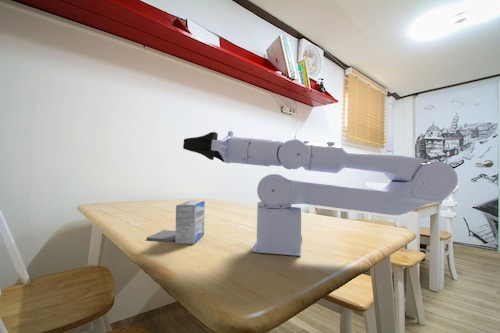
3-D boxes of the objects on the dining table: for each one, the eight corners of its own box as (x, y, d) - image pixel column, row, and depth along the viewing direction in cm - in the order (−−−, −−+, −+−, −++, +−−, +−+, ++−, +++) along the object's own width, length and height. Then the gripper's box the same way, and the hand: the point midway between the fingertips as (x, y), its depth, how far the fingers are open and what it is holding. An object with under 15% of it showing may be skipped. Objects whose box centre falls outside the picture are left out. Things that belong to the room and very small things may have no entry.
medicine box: (194, 245, 49) (195, 204, 49) (174, 244, 49) (175, 204, 49) (204, 235, 57) (205, 200, 57) (187, 234, 57) (188, 200, 57)
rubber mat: (186, 233, 57) (186, 231, 57) (172, 241, 50) (172, 239, 51) (163, 231, 58) (163, 230, 59) (146, 239, 52) (146, 237, 52)
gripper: (256, 138, 56) (205, 134, 59) (245, 126, 42) (178, 121, 44) (253, 166, 56) (202, 161, 59) (241, 163, 42) (174, 157, 44)
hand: (191, 146), depth 52 cm, fingers open, 7 cm apart
